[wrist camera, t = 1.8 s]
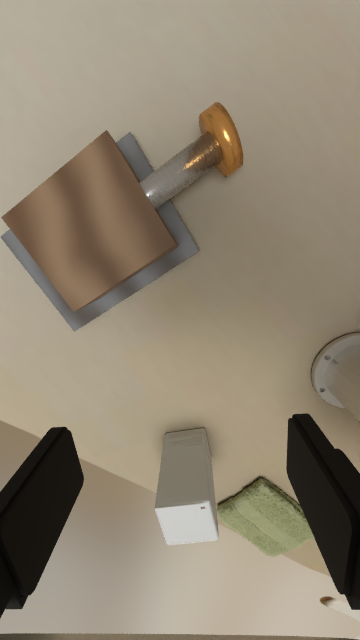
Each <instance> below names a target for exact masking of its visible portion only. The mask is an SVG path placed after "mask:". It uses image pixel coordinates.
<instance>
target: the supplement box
mask: <svg viewBox="0 0 360 640" xmlns="http://www.w3.org/2000/svg"><path fill="white" fill-rule="evenodd" d="M155 511H156V514H157V517H158V520H159V523H160V526H161V529H162V532H163V535H164V538H165V541H166V544H167V545H177V544H187V543H197V542H205V541H215V540H218V539H219V534H218V521H217V511H216V502H215V492H214V482H213V472H212V461H211V455H210V450H209V445H208V441H207V437H206V433H205V429H204V428H200V429H193V430H185V431H178V432H171V433H166V434H165V437H164V444H163V451H162V458H161V466H160V474H159V481H158V488H157V496H156V503H155Z"/></svg>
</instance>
